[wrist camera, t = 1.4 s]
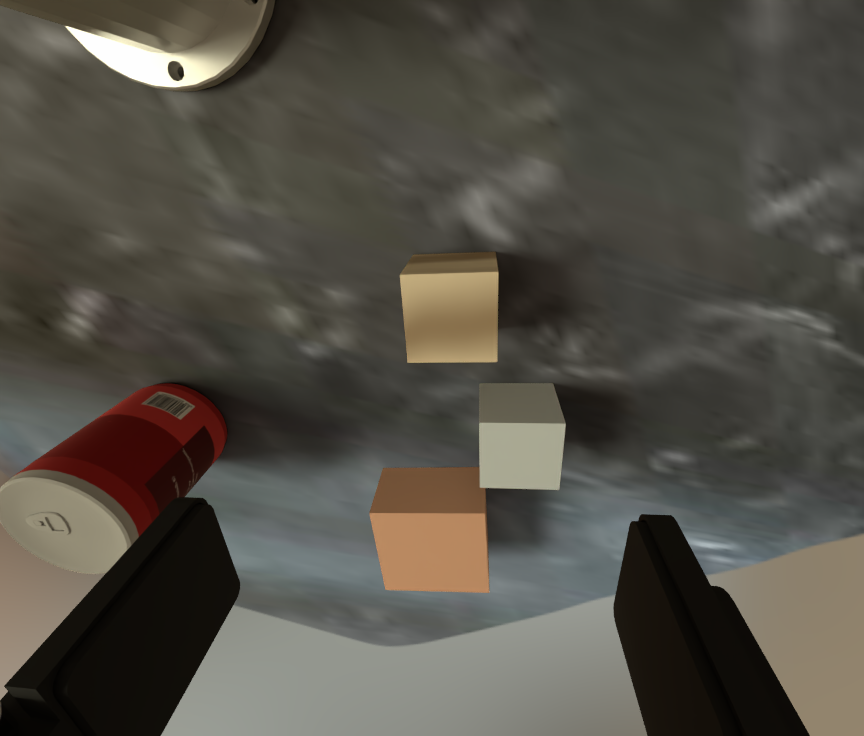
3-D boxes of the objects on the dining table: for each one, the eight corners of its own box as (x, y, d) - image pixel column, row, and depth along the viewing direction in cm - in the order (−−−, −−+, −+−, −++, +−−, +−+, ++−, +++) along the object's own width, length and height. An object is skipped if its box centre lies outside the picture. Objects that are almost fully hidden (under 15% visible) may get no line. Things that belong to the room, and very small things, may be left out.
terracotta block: (383, 466, 34) (369, 513, 30) (484, 465, 33) (485, 513, 29) (396, 538, 38) (385, 589, 33) (488, 539, 37) (489, 592, 32)
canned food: (114, 391, 33) (-38, 489, 24) (200, 369, 32) (75, 465, 22) (166, 467, 36) (51, 582, 27) (247, 451, 35) (156, 568, 25)
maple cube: (413, 254, 26) (399, 274, 22) (495, 251, 26) (498, 271, 21) (418, 329, 29) (407, 362, 24) (494, 328, 28) (497, 362, 24)
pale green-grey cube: (479, 382, 30) (479, 422, 26) (552, 382, 29) (565, 423, 25) (479, 441, 32) (479, 487, 28) (547, 442, 32) (559, 489, 27)
